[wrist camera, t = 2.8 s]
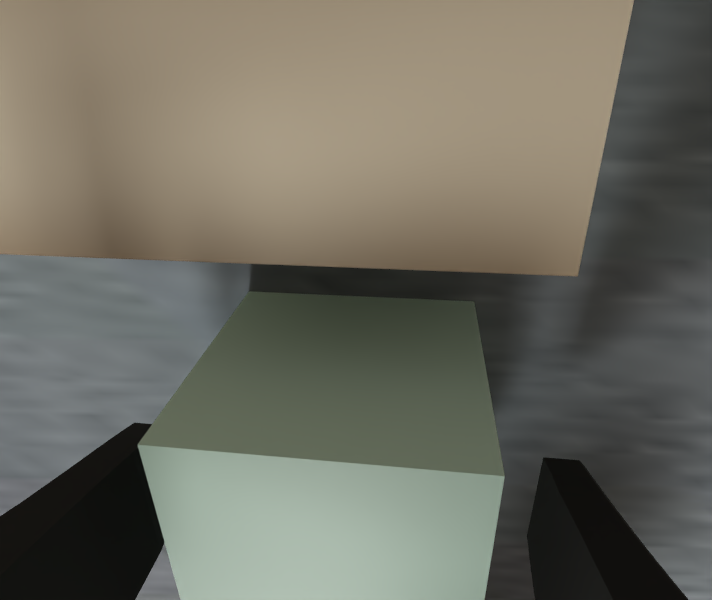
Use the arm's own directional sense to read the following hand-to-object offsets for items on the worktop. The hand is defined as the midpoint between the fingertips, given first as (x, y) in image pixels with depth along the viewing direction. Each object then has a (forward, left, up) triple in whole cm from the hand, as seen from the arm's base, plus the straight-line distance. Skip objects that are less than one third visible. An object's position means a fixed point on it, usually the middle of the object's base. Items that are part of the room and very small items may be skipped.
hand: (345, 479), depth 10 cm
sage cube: (0, 0, -3) cm, 3 cm away
